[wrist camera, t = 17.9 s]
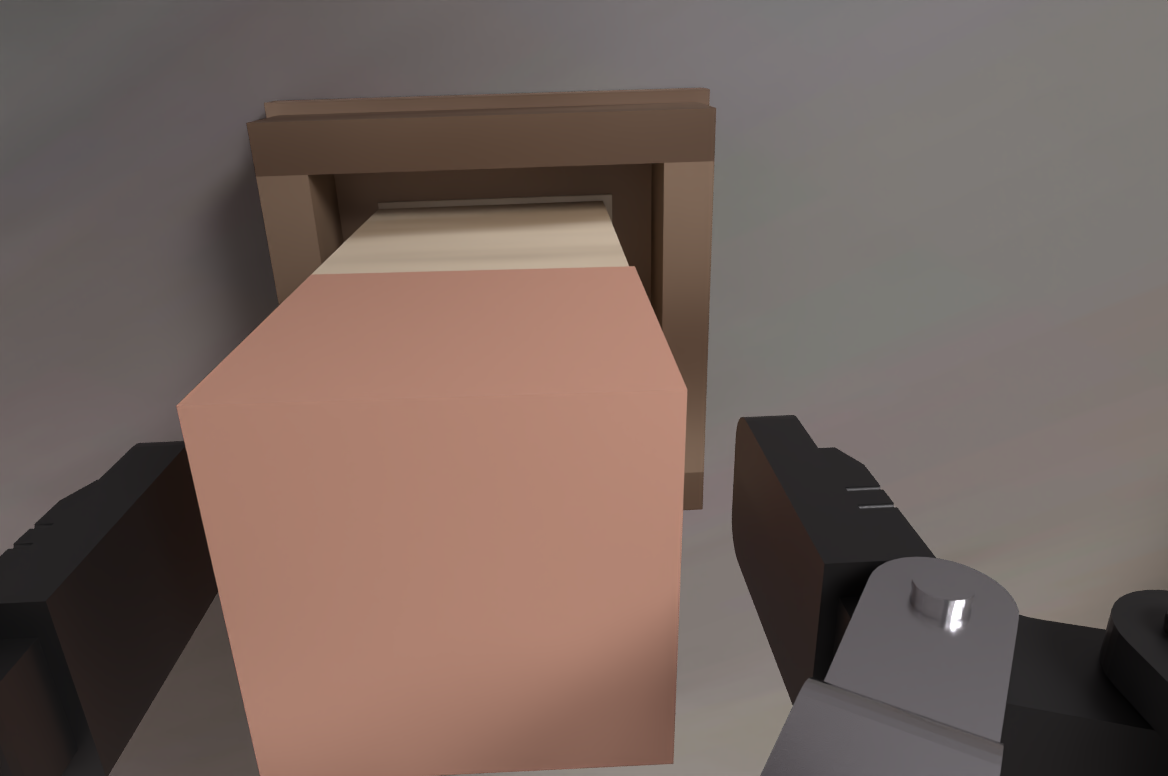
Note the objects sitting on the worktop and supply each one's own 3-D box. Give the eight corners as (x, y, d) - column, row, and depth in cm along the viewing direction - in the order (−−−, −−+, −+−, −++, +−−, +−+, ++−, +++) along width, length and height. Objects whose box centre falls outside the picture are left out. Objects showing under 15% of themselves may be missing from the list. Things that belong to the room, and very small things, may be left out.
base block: (378, 209, 18) (305, 279, 13) (602, 200, 18) (629, 266, 13) (404, 413, 20) (351, 553, 14) (606, 404, 20) (631, 538, 15)
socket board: (275, 100, 18) (230, 109, 15) (702, 87, 18) (729, 94, 16) (337, 479, 22) (309, 537, 19) (692, 462, 22) (712, 517, 19)
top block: (311, 274, 13) (176, 405, 8) (634, 265, 13) (687, 389, 8) (351, 549, 14) (262, 784, 10) (632, 538, 15) (673, 763, 10)
